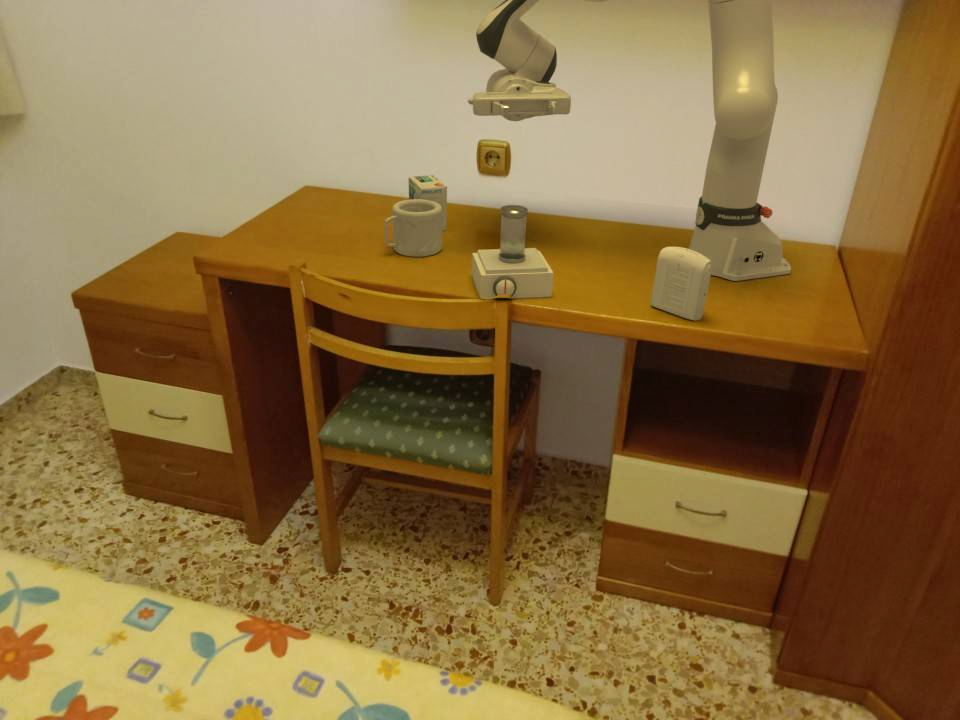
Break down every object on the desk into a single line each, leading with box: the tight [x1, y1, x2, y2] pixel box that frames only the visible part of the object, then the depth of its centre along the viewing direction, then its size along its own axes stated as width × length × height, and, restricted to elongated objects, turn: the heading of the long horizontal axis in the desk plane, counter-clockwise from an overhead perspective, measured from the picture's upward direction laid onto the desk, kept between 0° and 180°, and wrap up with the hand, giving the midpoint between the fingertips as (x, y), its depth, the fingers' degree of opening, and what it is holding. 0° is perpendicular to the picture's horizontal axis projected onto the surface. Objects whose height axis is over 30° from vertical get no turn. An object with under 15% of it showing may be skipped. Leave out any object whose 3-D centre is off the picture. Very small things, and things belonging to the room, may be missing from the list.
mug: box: [384, 199, 443, 258], centre depth 164 cm, size 14×11×10 cm
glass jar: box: [499, 204, 529, 264], centre depth 145 cm, size 5×5×10 cm
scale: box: [471, 247, 554, 299], centre depth 148 cm, size 14×13×6 cm
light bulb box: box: [408, 174, 448, 232], centre depth 180 cm, size 11×7×11 cm, turn 21°
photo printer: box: [650, 246, 712, 322], centre depth 139 cm, size 10×4×12 cm, turn 47°
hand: (528, 110), depth 148 cm, fingers open, 8 cm apart
